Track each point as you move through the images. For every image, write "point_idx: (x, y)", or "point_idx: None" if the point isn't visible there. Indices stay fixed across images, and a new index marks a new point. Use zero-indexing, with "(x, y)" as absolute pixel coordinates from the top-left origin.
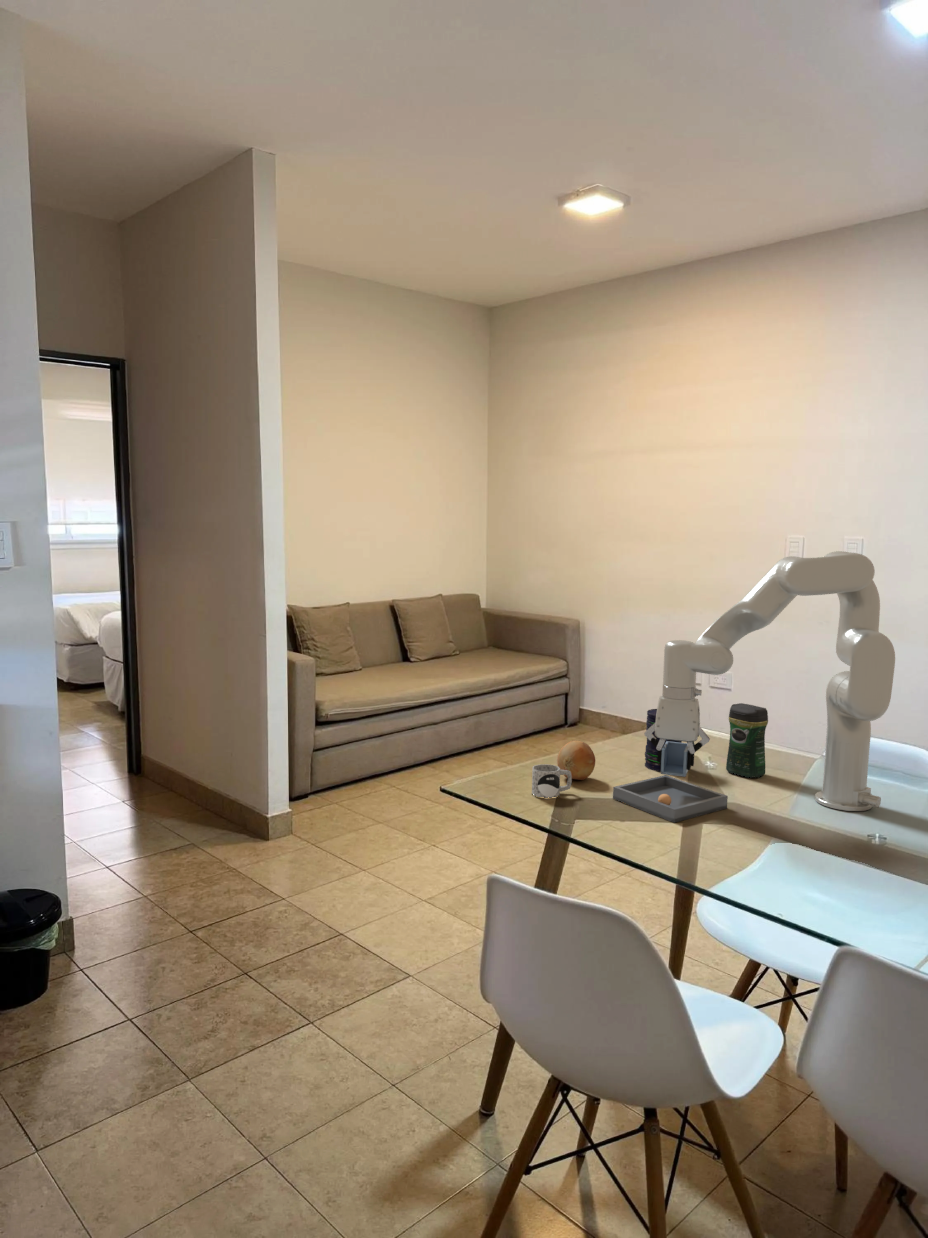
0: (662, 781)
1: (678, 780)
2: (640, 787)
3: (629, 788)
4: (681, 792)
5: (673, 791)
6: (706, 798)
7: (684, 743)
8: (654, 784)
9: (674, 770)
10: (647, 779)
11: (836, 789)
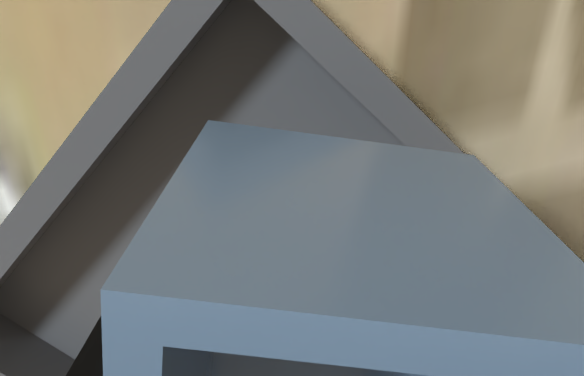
0: (215, 14)
1: (349, 74)
2: (72, 194)
3: (10, 268)
4: (362, 134)
5: (306, 128)
6: None
7: (536, 374)
8: (159, 86)
9: (305, 369)
10: (89, 118)
11: None
